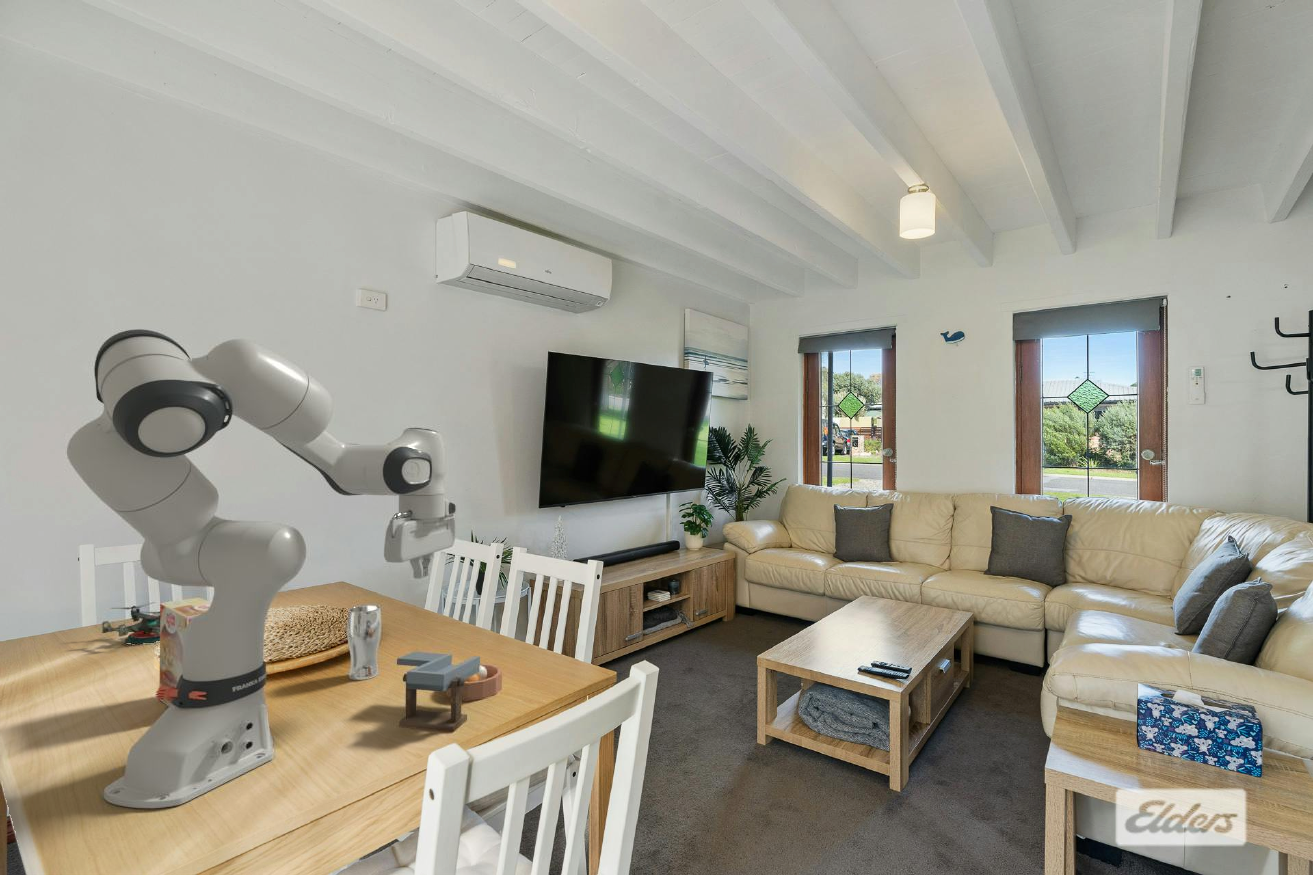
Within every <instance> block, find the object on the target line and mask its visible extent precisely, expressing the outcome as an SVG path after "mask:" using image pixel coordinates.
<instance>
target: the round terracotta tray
mask: <svg viewBox="0 0 1313 875" xmlns="http://www.w3.org/2000/svg"><path fill="white" fill-rule="evenodd" d="M480 665H481V666H484V667H485V668H486V670H487V677H486V678H485V680H481V681H473V682H465V683H464V686H462V692H461V701H469V702H470V701H477V700H484V699H486V698H489V697H492V696H495V695H497V694H498V693H499V692H500V691H502V688H503V681H502V680H503V672H502V668H501V667H500V666H499V665H495V664H493V663H482V662H481V663H480ZM446 696H447V697H448V698H450V699H451V688H449V689H447V690H446Z"/></svg>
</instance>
